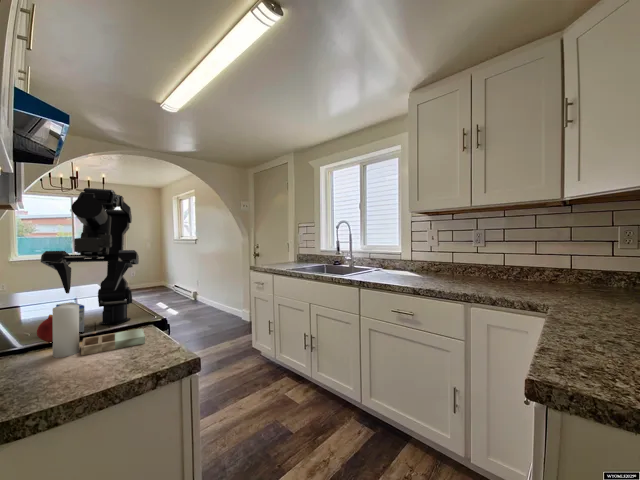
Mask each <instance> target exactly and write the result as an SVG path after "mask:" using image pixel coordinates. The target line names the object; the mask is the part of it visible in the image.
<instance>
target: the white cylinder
mask: <svg viewBox="0 0 640 480" xmlns="http://www.w3.org/2000/svg"><path fill="white" fill-rule="evenodd" d="M52 315H53V343H52V357H53V358H56V359H58V358H65V357H66V358H67V357H70V356H74V355H75V354H78V353H79V352H80V333H79V305H64V306H58V307H56V306H55V307H52Z"/></svg>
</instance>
